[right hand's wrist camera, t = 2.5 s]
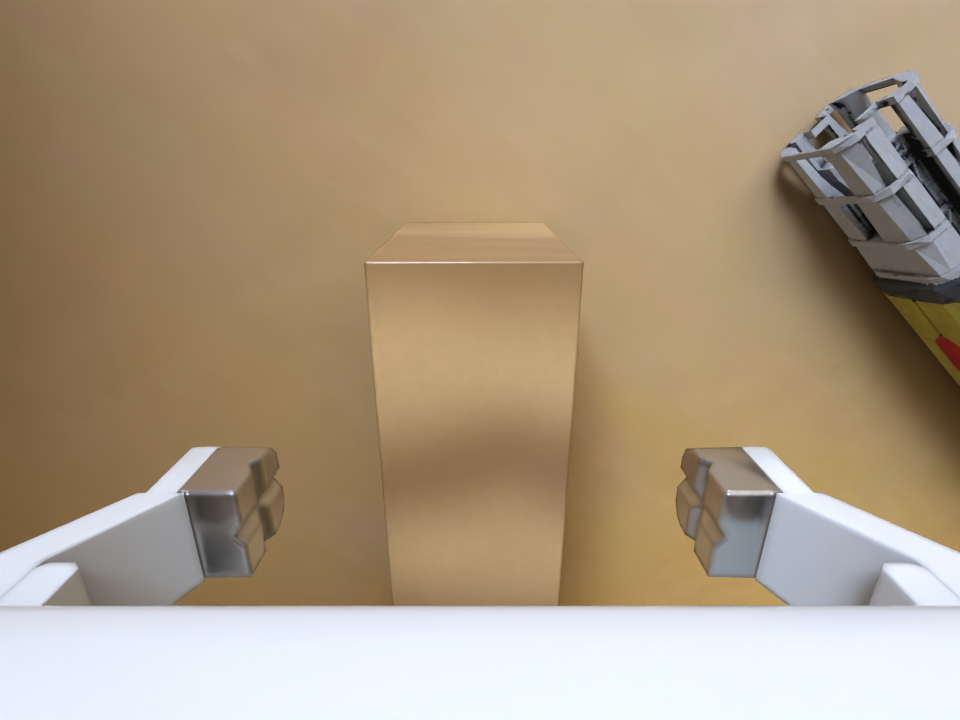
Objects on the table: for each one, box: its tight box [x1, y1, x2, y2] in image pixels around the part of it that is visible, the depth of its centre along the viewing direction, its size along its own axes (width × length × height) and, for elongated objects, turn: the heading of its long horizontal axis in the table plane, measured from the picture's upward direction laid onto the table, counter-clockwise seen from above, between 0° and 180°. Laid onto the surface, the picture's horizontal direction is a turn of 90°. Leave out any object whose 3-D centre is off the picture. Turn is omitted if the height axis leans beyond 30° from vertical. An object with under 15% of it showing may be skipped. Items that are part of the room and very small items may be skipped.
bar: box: [364, 223, 584, 606], centre depth 22 cm, size 26×6×8 cm, turn 0°
